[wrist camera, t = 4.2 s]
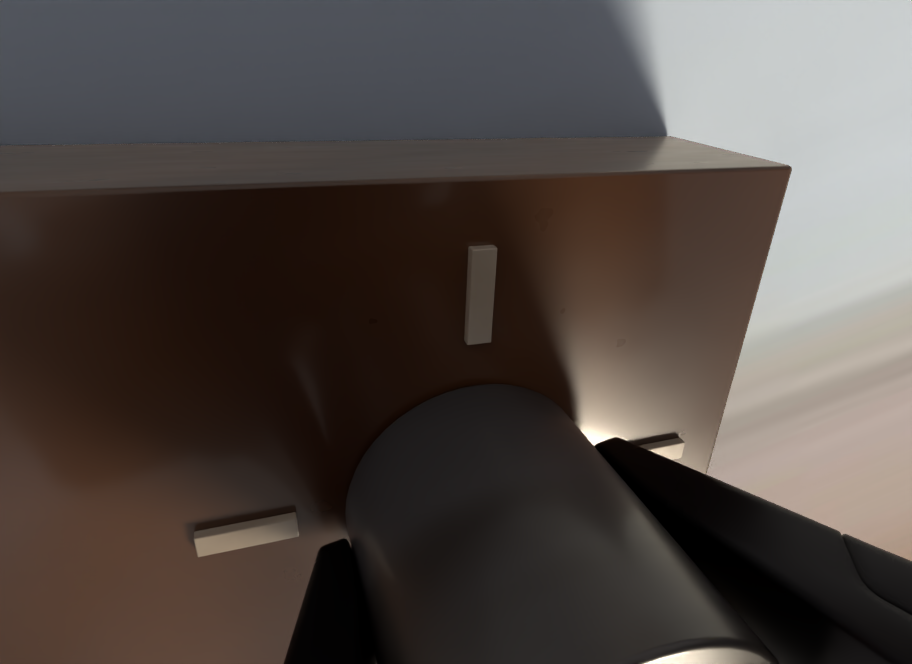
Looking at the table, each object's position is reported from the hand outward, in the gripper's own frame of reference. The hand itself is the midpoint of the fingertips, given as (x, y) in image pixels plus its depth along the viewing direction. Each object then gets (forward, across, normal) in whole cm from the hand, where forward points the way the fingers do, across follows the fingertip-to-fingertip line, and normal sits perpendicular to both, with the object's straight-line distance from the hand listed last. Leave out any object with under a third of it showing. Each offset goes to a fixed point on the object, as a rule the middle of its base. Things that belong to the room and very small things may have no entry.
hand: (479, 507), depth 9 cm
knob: (0, 0, 0) cm, 0 cm away
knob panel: (+4, +2, 0) cm, 4 cm away
